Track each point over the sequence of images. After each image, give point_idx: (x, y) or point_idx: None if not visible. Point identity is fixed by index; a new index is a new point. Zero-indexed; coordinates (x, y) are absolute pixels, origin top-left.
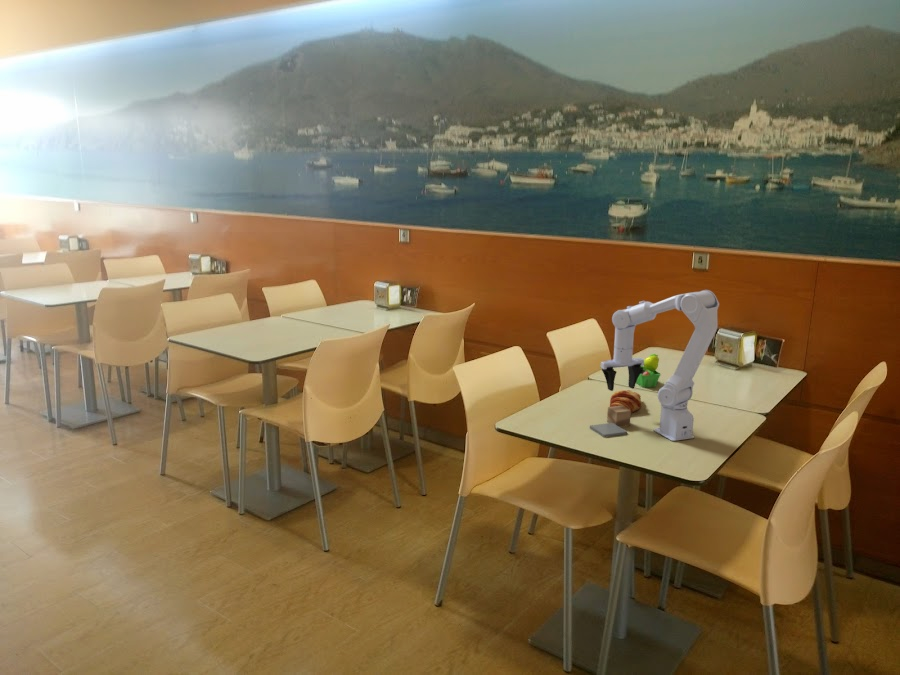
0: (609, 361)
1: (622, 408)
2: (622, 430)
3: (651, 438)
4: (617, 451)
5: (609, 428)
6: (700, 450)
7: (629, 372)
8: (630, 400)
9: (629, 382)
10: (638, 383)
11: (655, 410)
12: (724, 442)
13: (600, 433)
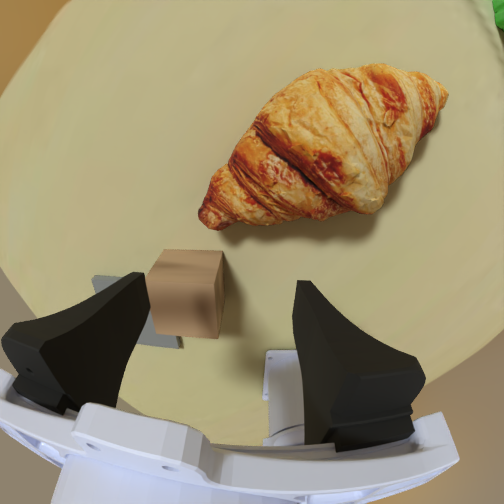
0: (30, 427)
1: (197, 312)
2: (169, 339)
3: (228, 376)
4: (125, 385)
5: None
6: None
7: (323, 349)
8: (322, 210)
9: (302, 303)
10: (494, 2)
11: (415, 210)
12: None
13: None
